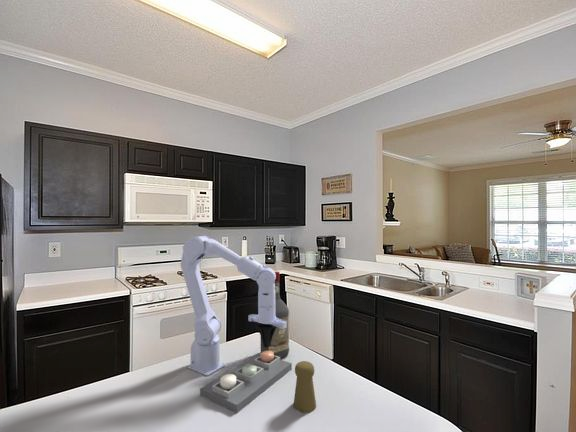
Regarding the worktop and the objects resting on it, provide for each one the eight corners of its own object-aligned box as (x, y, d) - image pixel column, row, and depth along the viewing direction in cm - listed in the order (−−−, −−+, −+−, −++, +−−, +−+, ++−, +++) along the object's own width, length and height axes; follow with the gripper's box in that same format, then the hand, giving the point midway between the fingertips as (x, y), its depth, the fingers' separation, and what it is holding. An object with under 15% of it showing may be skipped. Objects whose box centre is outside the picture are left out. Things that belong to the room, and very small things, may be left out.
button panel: (200, 395, 82) (200, 383, 82) (258, 358, 104) (258, 349, 104) (237, 413, 74) (237, 399, 74) (291, 369, 96) (291, 358, 96)
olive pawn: (315, 414, 74) (314, 370, 74) (291, 411, 75) (291, 368, 75) (317, 399, 80) (317, 359, 80) (295, 397, 81) (295, 357, 81)
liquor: (257, 353, 108) (257, 272, 109) (278, 346, 114) (277, 269, 114) (271, 362, 101) (271, 275, 101) (292, 355, 106) (291, 272, 107)
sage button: (239, 375, 88) (239, 369, 88) (248, 369, 92) (248, 363, 92) (250, 379, 86) (250, 373, 86) (259, 373, 90) (259, 367, 90)
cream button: (216, 386, 81) (216, 379, 81) (228, 378, 85) (228, 372, 85) (228, 391, 79) (228, 384, 79) (239, 383, 82) (239, 376, 82)
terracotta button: (257, 360, 96) (257, 354, 96) (265, 354, 100) (265, 349, 100) (268, 363, 94) (268, 357, 94) (276, 358, 97) (276, 352, 97)
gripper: (291, 305, 96) (292, 346, 96) (257, 299, 104) (257, 337, 104) (279, 310, 90) (279, 355, 90) (244, 304, 98) (244, 344, 98)
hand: (267, 346), depth 97 cm, fingers closed
